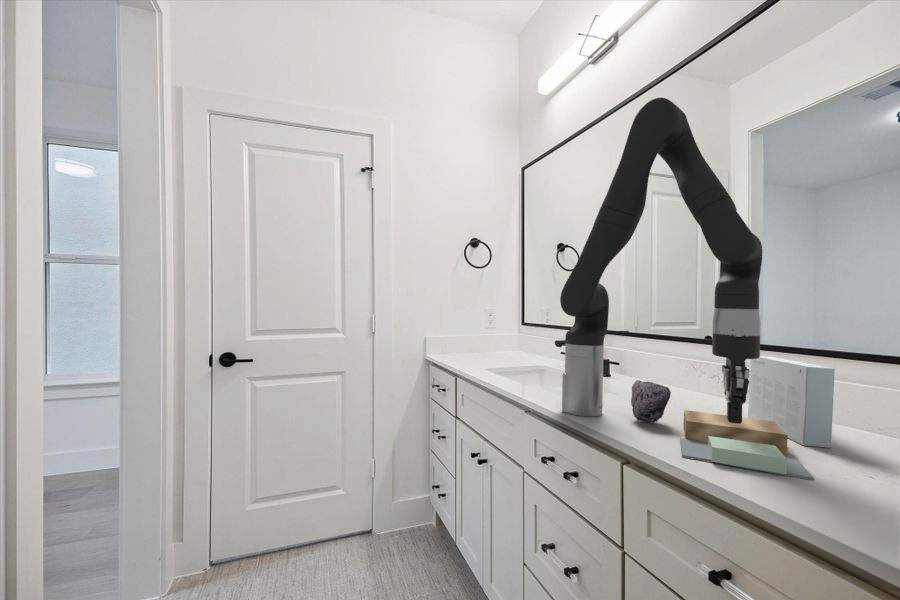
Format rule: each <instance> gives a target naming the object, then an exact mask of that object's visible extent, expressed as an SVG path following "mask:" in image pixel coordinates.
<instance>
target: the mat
mask: <svg viewBox="0 0 900 600" xmlns="http://www.w3.org/2000/svg"><path fill="white" fill-rule="evenodd" d="M679 442H680V450H681V451H680V452H681V458H684V457H687V458H686V459H690V458H693V459H692V460H695V459H698V460H697V461H701V460H703V461H702V462H707V461H709V462H708V463H712V460H711V457H710V454H709V451H708V442H704V441H698V440H691V439H685V437H679ZM783 455H784V456H785V457H786V459H787V475H786V474H781V473H775V472H769V471H763V470H758V469H752V468H746V467H740V466H734V465H729V464H723V463H720V464H719V465H724V466H731V467H735V468H741V469H746V470H747V469H748V470H752V471H758V472H765V473H769V474H774V475H775V474H776V475H780V476H781V475H782V476H787V477H793V478H797V479H798V478H799V479H803V480H804V479H805V480H808V481H809V480H810V481H815V477H814V476H813V475H812V473H811V472H810V471H809V470H808V469H807V468H806V467H805V466H804V465H803V463H802V462H801V461H800V460H799V459H798V458H797V457H796V456H795V455H793V454H788V453H787V454H783ZM714 464H718V463H717V462H715V463H714Z"/></svg>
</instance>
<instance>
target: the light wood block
mask: <svg viewBox="0 0 900 600" xmlns="http://www.w3.org/2000/svg"><path fill="white" fill-rule="evenodd" d="M683 432H684V438H685V439H691V440H698V441H704V442H708V436H713V437H720V438H726V439H733V440H740V441H747V442H753V443H760V444H767V445H774V446H776V447H777V448H778V449H779V450H780V452H781V453H782V454H787V455H788V438H787V434H786V433H785V432H784V431H783V430H782V429H781V428H780V427H779V426H778V425H777V424H776V423H775V422H774V421H767V420H759V419H751V418H748V417H743V416H742V423H741V424H737V423H730V422H729V421H728V420H727V414H718V413H711V412H702V411H695V410H694V411H693V410H688V409H687V410H686V409H683Z"/></svg>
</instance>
